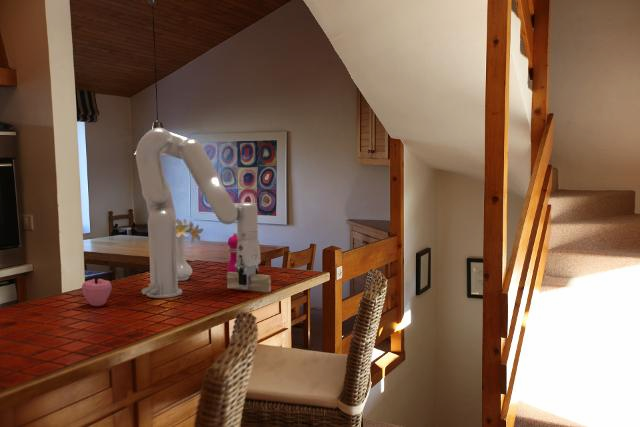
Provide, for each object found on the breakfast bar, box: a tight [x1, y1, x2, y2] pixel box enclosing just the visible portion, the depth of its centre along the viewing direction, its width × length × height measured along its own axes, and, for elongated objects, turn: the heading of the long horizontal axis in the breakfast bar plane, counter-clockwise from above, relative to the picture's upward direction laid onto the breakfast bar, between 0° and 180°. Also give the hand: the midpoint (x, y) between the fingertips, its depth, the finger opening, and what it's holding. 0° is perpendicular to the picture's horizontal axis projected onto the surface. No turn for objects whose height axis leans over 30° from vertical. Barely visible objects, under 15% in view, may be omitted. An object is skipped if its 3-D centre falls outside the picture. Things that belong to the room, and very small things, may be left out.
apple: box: [81, 277, 113, 307], centre depth 198 cm, size 10×9×10 cm
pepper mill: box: [226, 231, 238, 273], centre depth 235 cm, size 7×7×20 cm
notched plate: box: [241, 266, 256, 289], centre depth 220 cm, size 2×7×8 cm, turn 155°
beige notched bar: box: [226, 271, 272, 294], centre depth 220 cm, size 2×18×6 cm, turn 64°
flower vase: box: [176, 218, 204, 282], centre depth 239 cm, size 13×18×25 cm
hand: (248, 282), depth 220 cm, fingers closed on notched plate, 7 cm apart
